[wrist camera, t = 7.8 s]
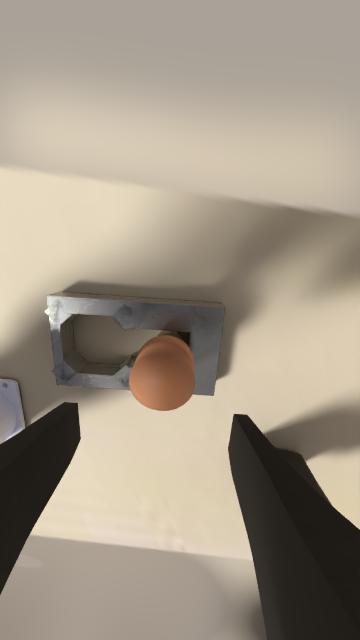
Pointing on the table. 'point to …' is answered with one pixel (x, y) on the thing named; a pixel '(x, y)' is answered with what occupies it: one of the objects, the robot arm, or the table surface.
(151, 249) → the table surface
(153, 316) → the keyhole plate
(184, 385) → the peg
